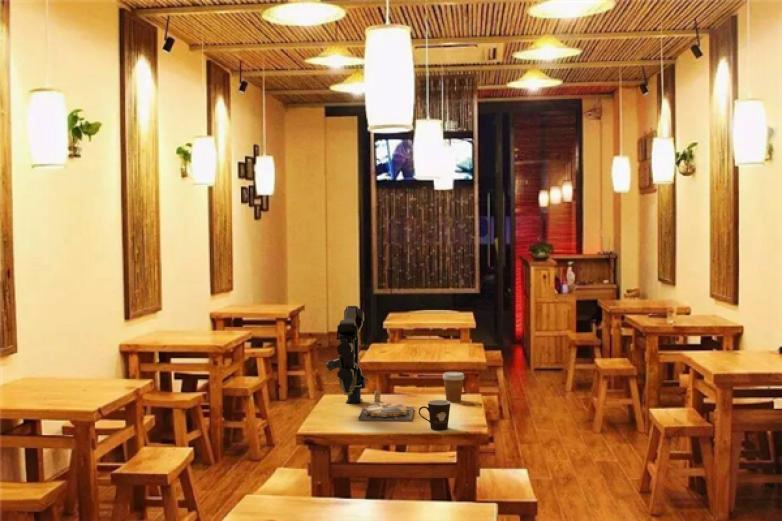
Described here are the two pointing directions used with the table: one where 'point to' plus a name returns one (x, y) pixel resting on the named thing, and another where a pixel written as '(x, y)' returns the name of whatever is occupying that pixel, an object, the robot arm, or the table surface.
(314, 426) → the table surface
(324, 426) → the table surface
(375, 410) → the index wheel
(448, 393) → the disposable coffee cup
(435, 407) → the coffee mug
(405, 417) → the base plate
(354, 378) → the cup
